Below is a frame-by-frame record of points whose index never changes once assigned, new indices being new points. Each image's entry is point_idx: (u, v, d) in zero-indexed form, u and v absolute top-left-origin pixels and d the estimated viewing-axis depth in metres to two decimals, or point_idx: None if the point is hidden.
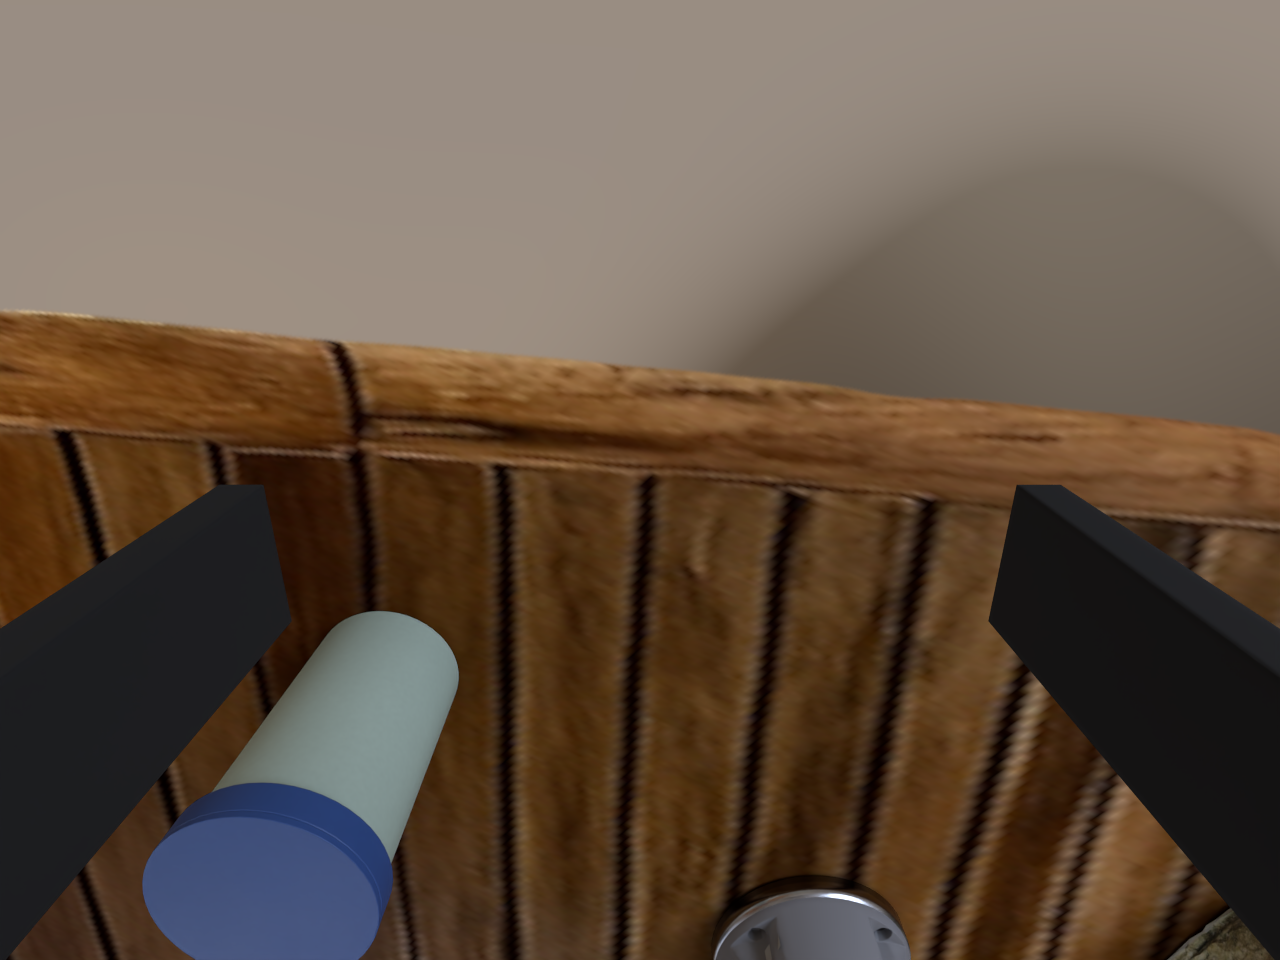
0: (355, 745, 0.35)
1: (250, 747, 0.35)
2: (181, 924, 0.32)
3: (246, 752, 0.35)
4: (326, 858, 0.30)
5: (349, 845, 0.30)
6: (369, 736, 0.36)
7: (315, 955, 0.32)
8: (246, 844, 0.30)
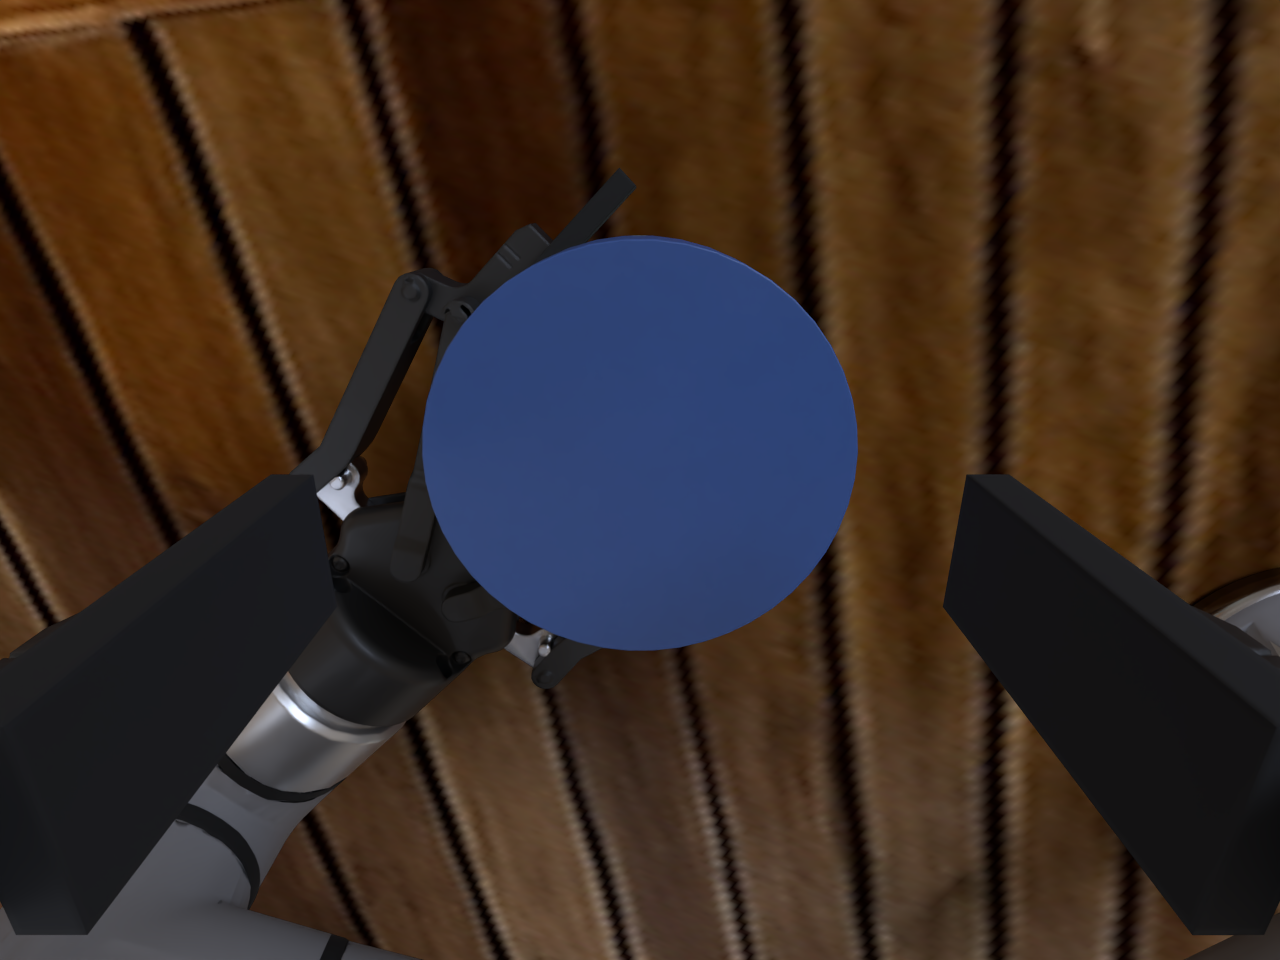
0: None
1: None
2: (498, 543, 0.17)
3: None
4: (759, 319, 0.15)
5: None
6: None
7: (739, 570, 0.18)
8: (605, 316, 0.15)
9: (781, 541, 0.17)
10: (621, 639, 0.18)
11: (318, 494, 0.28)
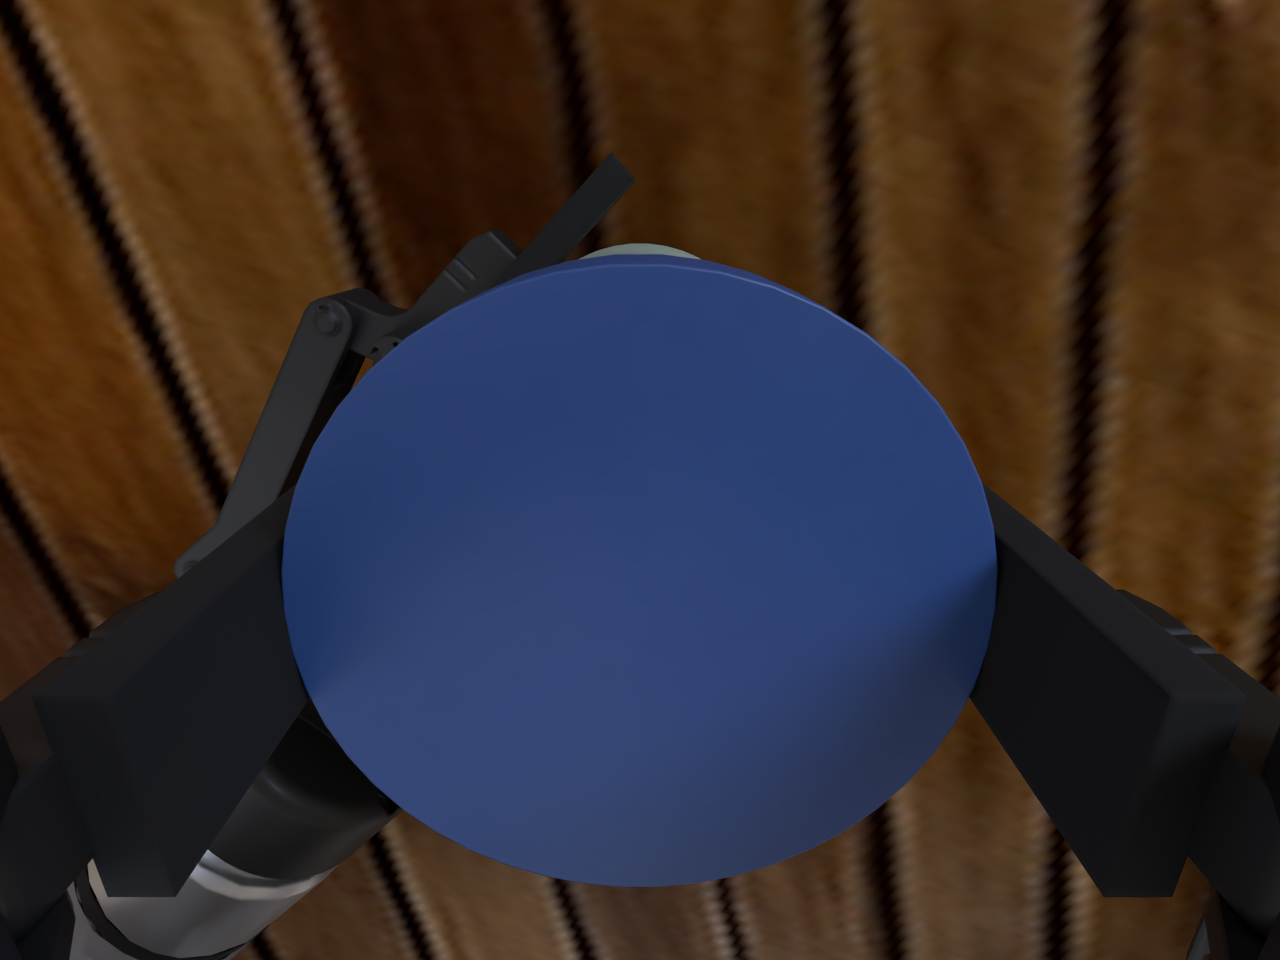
0: None
1: None
2: (415, 741, 0.11)
3: None
4: (845, 400, 0.09)
5: None
6: None
7: (795, 778, 0.11)
8: (582, 395, 0.09)
9: (864, 738, 0.11)
10: (611, 872, 0.12)
11: None
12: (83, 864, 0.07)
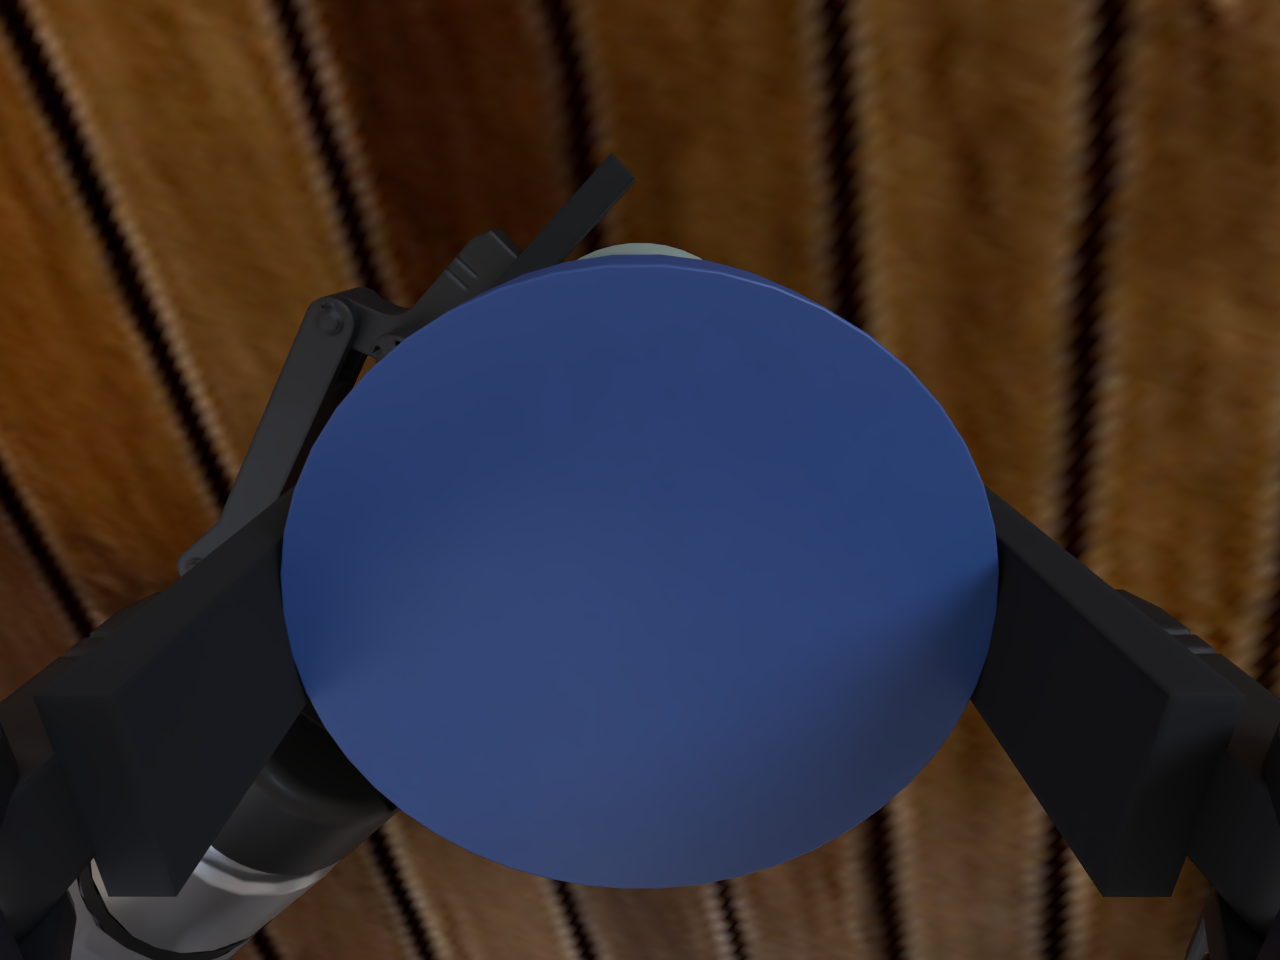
0: None
1: None
2: (702, 834, 0.12)
3: None
4: (429, 403, 0.09)
5: None
6: None
7: (880, 527, 0.10)
8: (389, 622, 0.10)
9: (852, 444, 0.09)
10: (932, 728, 0.11)
11: None
12: (84, 864, 0.07)
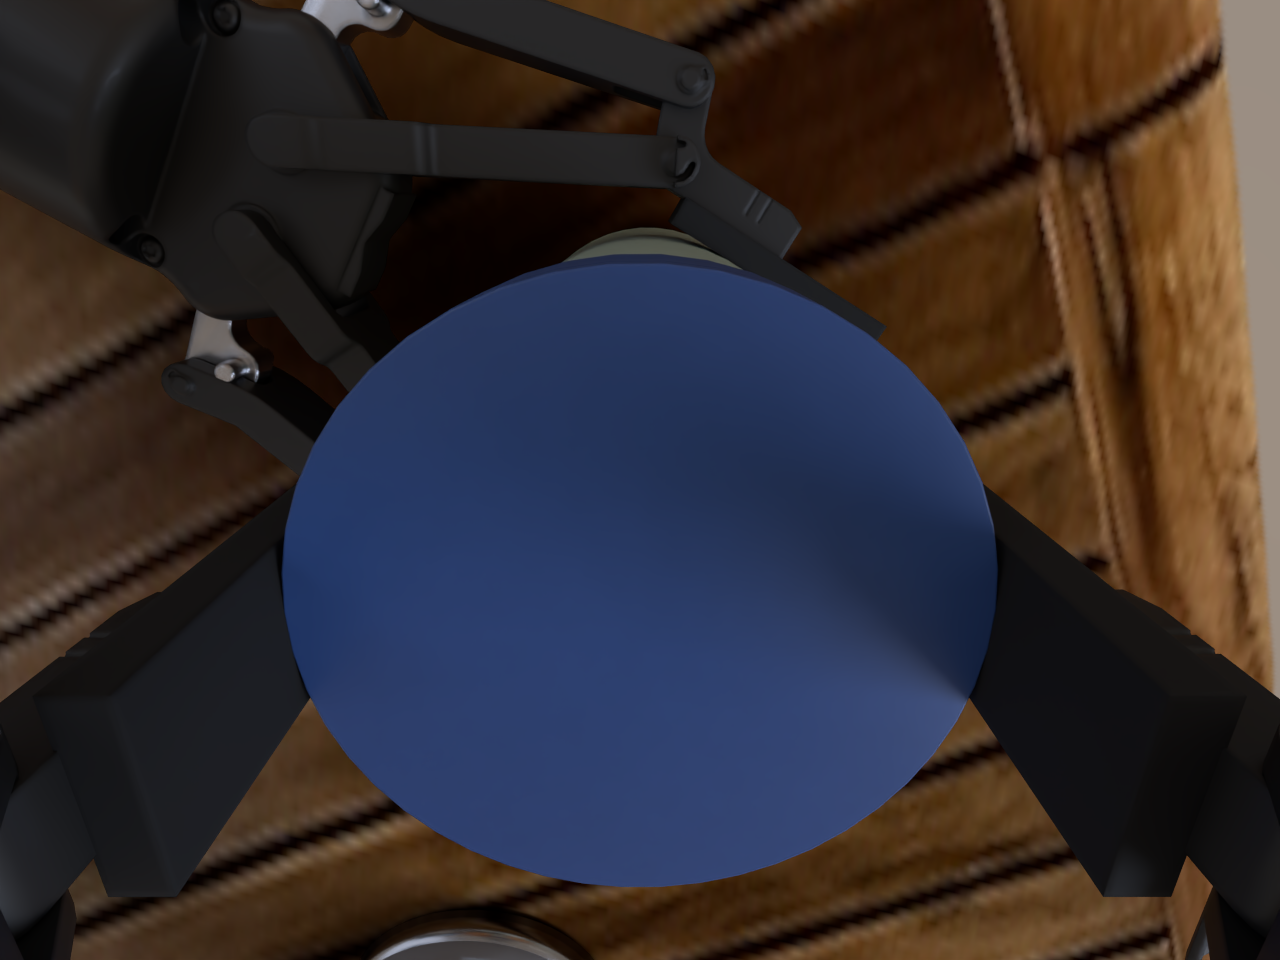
0: None
1: None
2: (702, 833, 0.12)
3: None
4: (430, 402, 0.09)
5: None
6: None
7: (879, 525, 0.10)
8: (390, 620, 0.10)
9: (851, 443, 0.09)
10: (931, 726, 0.11)
11: None
12: (84, 863, 0.07)
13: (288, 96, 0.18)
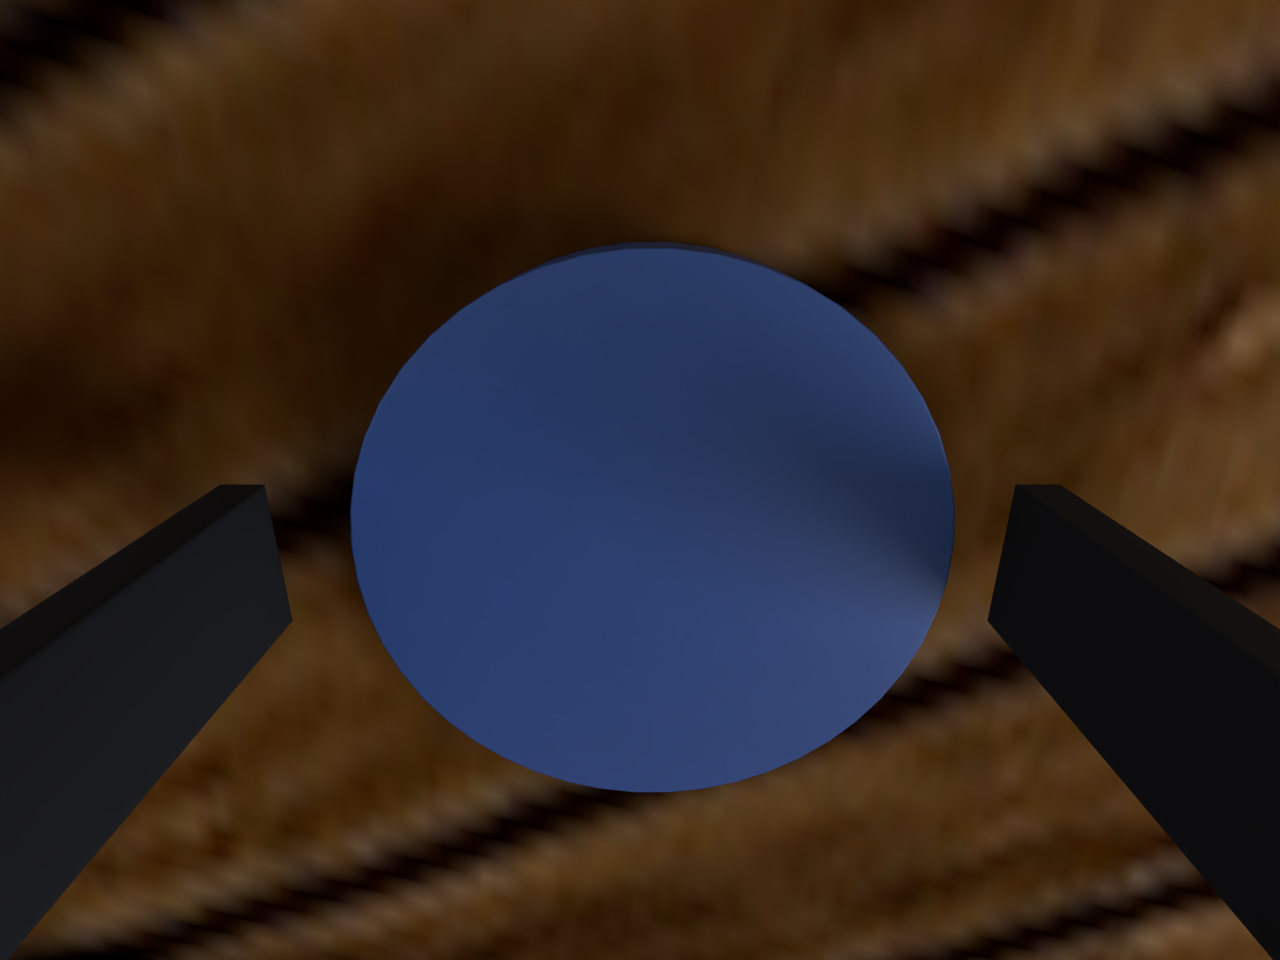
0: None
1: None
2: (704, 743, 0.14)
3: None
4: (479, 364, 0.11)
5: None
6: None
7: (853, 470, 0.11)
8: (441, 551, 0.12)
9: (829, 399, 0.11)
10: (900, 647, 0.13)
11: None
12: None
13: None
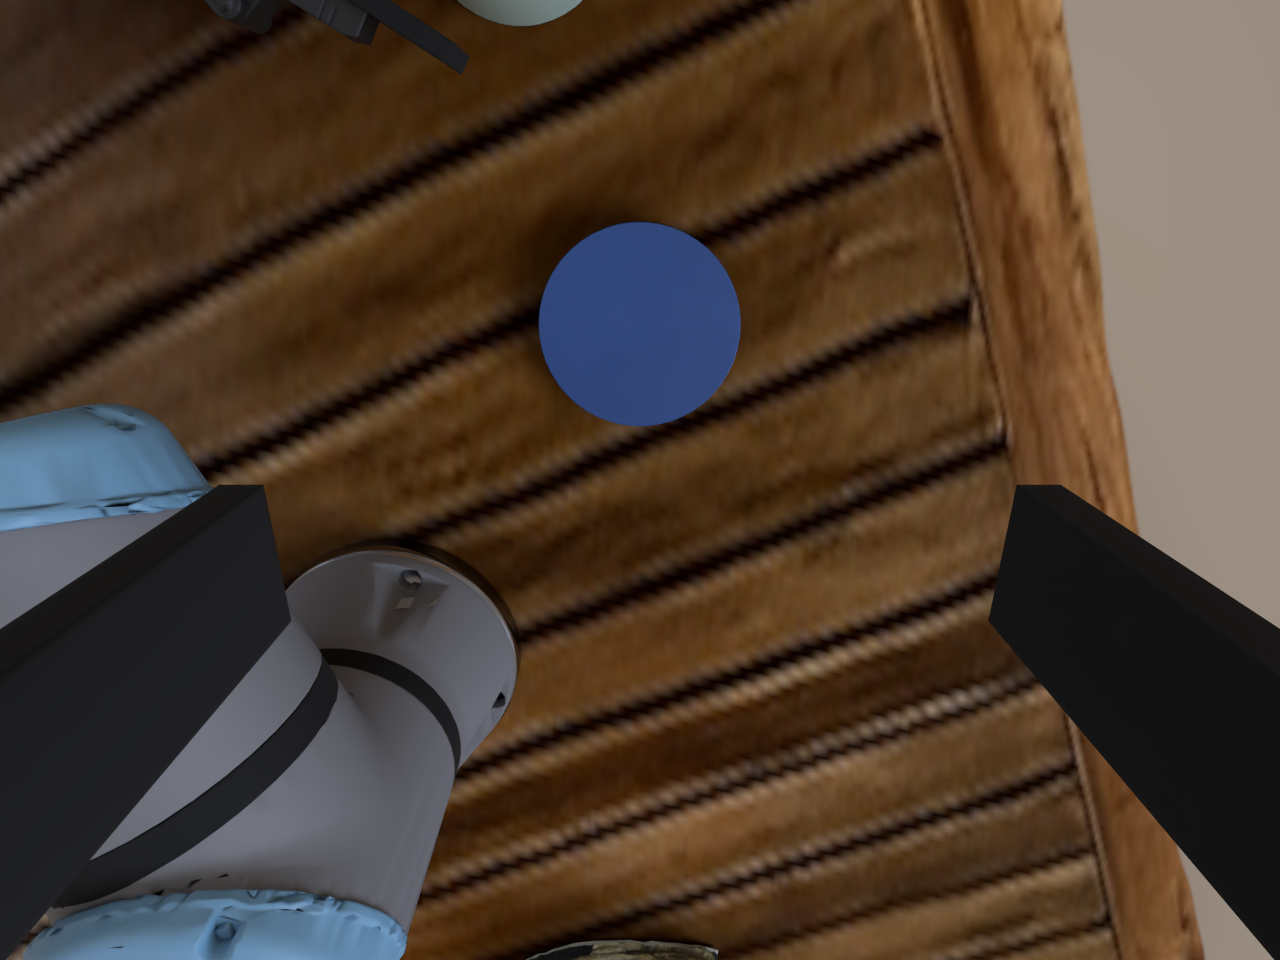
0: None
1: None
2: (659, 403, 0.37)
3: None
4: (585, 258, 0.35)
5: None
6: None
7: (704, 295, 0.35)
8: (569, 325, 0.36)
9: (695, 270, 0.35)
10: (726, 362, 0.36)
11: None
12: None
13: None
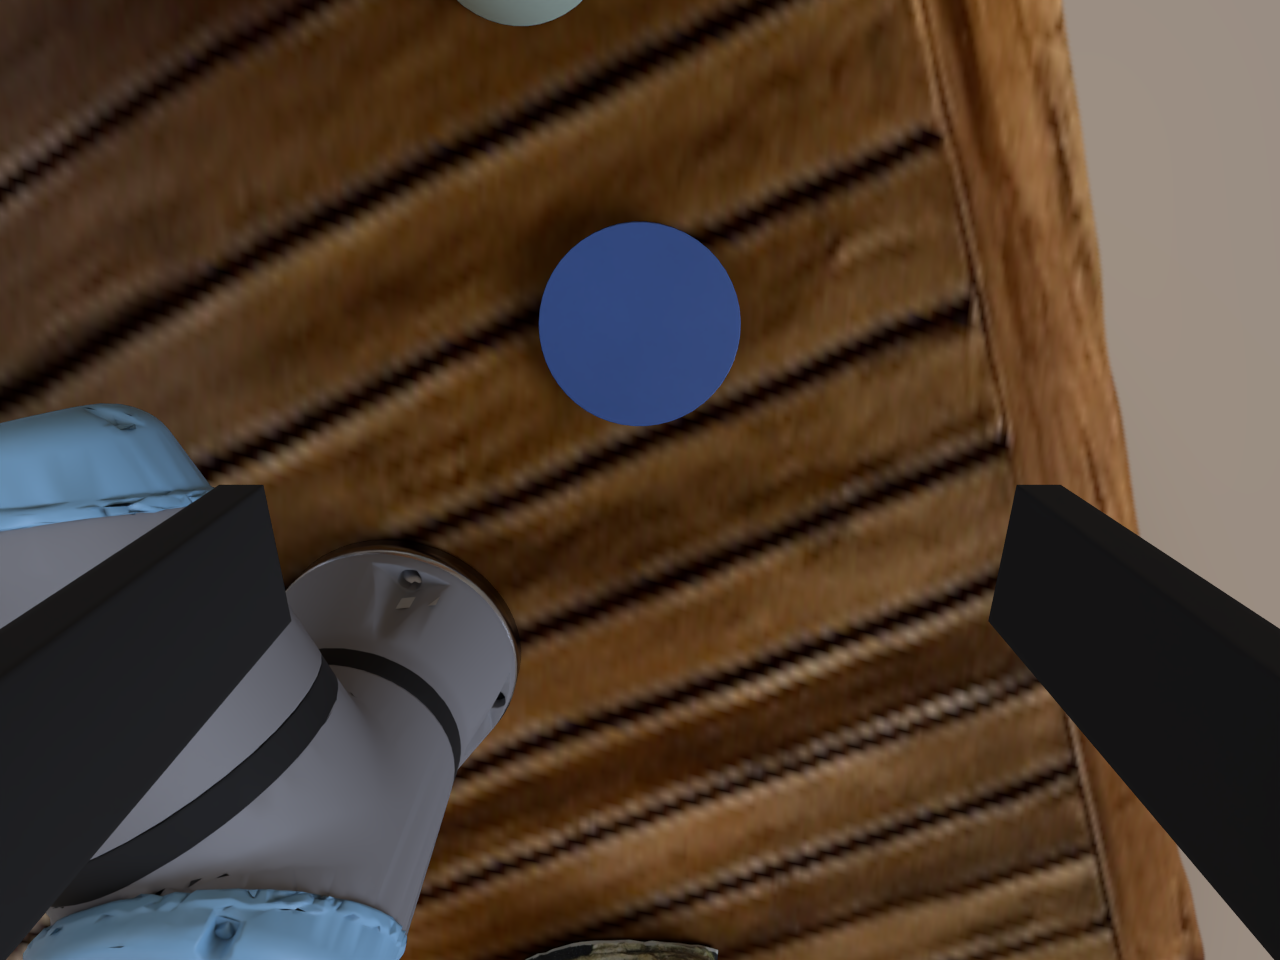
0: None
1: None
2: (659, 403, 0.37)
3: None
4: (585, 258, 0.35)
5: None
6: None
7: (704, 295, 0.35)
8: (569, 325, 0.36)
9: (695, 270, 0.35)
10: (726, 362, 0.36)
11: None
12: None
13: None
